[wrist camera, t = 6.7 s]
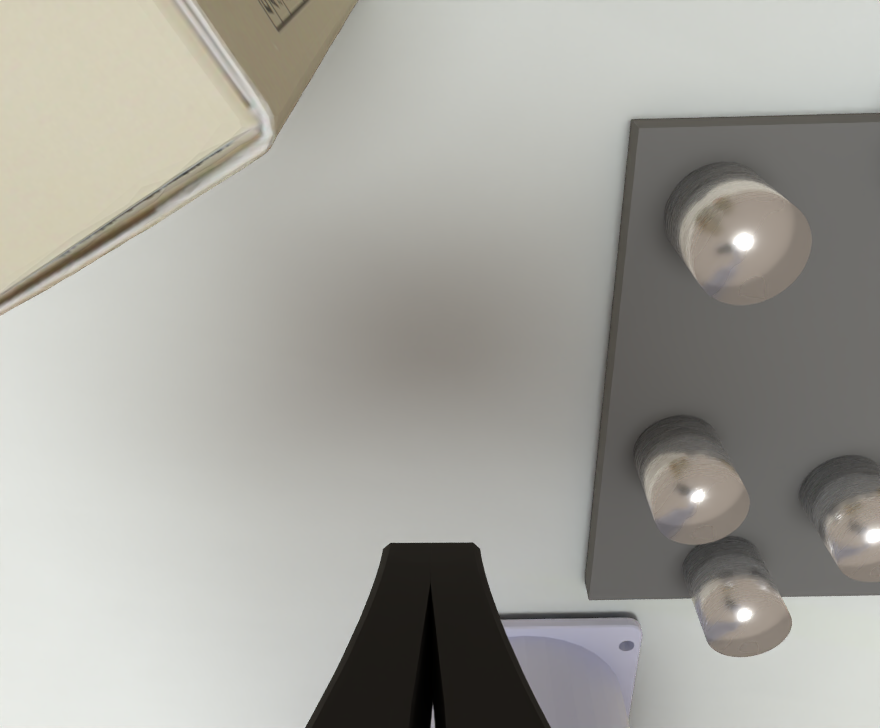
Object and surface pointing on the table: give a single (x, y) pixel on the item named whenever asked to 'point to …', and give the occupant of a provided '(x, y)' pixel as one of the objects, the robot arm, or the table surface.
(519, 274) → the table surface
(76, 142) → the skincare box
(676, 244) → the spacers
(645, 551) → the mat
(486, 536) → the table surface
